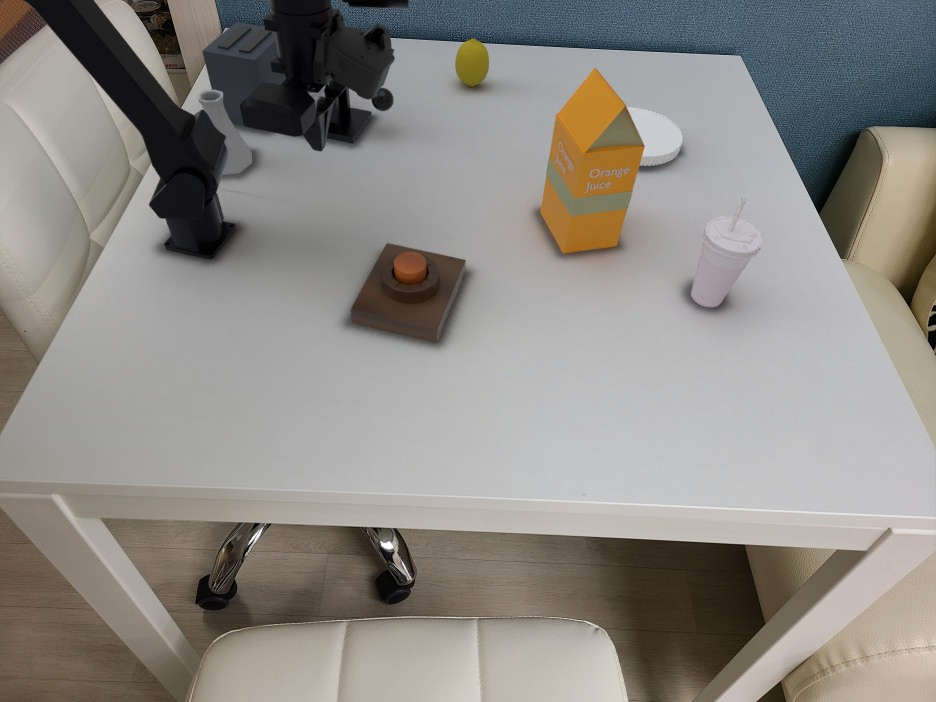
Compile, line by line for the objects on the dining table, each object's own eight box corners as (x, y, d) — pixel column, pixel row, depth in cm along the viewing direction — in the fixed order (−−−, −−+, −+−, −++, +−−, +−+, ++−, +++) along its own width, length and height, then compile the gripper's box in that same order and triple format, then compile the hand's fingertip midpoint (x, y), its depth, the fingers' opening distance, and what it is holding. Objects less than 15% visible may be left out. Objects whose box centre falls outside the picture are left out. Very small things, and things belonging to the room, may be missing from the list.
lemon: (449, 82, 113) (450, 34, 107) (478, 76, 115) (481, 29, 109) (462, 97, 110) (465, 49, 104) (492, 92, 112) (496, 43, 106)
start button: (420, 288, 75) (420, 276, 73) (389, 281, 75) (389, 269, 74) (430, 267, 77) (430, 255, 76) (400, 260, 77) (399, 249, 76)
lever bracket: (372, 118, 104) (367, 49, 96) (353, 145, 99) (347, 74, 91) (312, 107, 106) (302, 37, 98) (290, 132, 100) (278, 62, 92)
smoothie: (694, 271, 84) (733, 176, 74) (742, 295, 82) (789, 200, 71) (670, 297, 81) (707, 201, 70) (719, 323, 78) (765, 228, 68)
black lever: (392, 108, 99) (399, 90, 97) (385, 119, 97) (392, 101, 95) (318, 67, 98) (323, 48, 95) (309, 77, 96) (314, 58, 93)
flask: (260, 150, 97) (246, 84, 89) (244, 179, 92) (228, 112, 85) (210, 145, 97) (193, 79, 90) (192, 174, 92) (172, 106, 85)
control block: (437, 343, 74) (437, 317, 71) (351, 323, 75) (348, 297, 72) (465, 273, 82) (466, 247, 79) (387, 256, 83) (385, 230, 80)
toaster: (268, 132, 100) (254, 57, 92) (219, 122, 101) (201, 48, 93) (296, 100, 107) (286, 28, 98) (250, 91, 108) (235, 19, 99)
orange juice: (562, 254, 85) (592, 108, 70) (538, 212, 91) (562, 68, 76) (618, 246, 87) (659, 101, 72) (592, 205, 92) (625, 63, 77)
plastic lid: (635, 113, 109) (639, 99, 108) (697, 156, 102) (702, 141, 100) (568, 135, 104) (571, 120, 102) (628, 181, 97) (632, 166, 95)
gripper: (342, 61, 56) (355, 212, 68) (413, -19, 68) (413, 121, 80) (221, 38, 58) (254, 190, 69) (311, -36, 70) (326, 104, 82)
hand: (318, 149), depth 75 cm, fingers closed
